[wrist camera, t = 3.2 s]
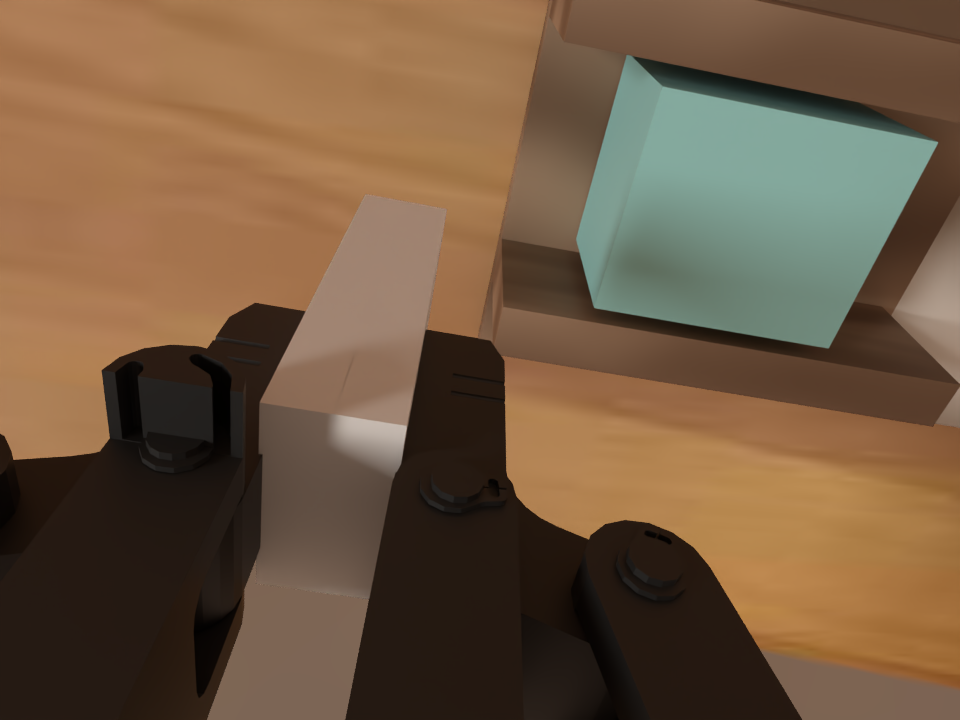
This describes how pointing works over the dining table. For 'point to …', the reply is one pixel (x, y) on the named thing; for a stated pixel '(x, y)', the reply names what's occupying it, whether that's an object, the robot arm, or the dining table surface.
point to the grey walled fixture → (773, 60)
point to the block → (741, 202)
